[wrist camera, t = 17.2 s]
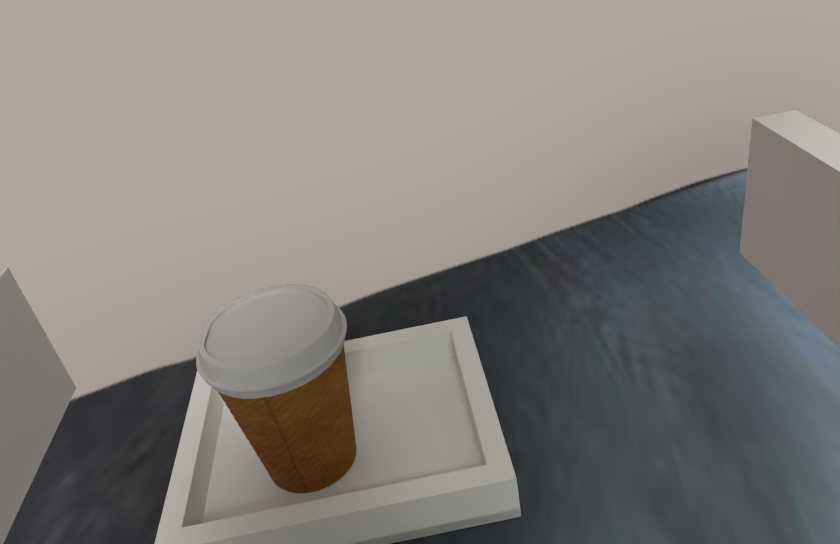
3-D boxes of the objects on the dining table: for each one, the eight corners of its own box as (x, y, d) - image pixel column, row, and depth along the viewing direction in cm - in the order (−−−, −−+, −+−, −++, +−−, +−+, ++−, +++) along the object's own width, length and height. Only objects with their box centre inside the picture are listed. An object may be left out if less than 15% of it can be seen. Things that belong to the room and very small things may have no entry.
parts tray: (471, 350, 57) (466, 316, 56) (521, 516, 43) (516, 478, 41) (211, 403, 57) (197, 371, 55) (172, 589, 43) (152, 553, 41)
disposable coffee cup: (295, 400, 54) (252, 273, 48) (402, 424, 50) (369, 289, 44) (219, 493, 47) (156, 359, 41) (335, 531, 43) (284, 388, 37)
